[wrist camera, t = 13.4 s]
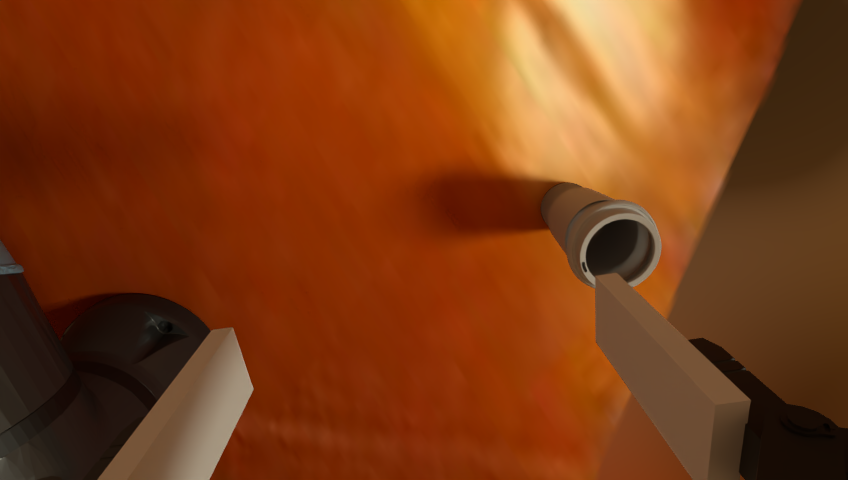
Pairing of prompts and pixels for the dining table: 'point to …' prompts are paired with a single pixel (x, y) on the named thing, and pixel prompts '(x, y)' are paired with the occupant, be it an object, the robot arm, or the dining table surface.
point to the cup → (601, 234)
